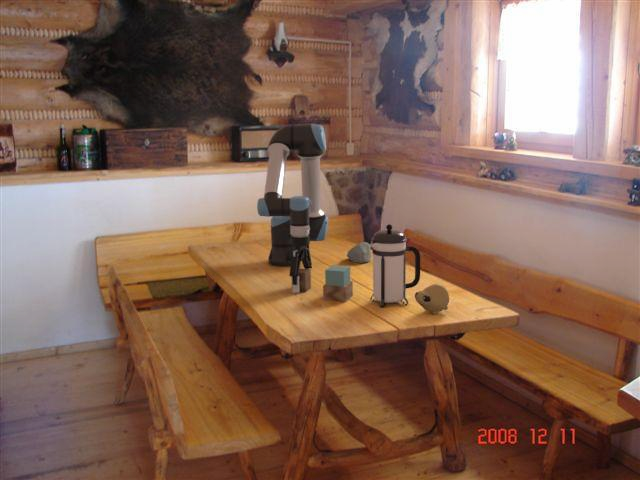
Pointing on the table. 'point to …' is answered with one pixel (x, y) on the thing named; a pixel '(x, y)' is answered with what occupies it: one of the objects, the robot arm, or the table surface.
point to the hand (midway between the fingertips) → (301, 288)
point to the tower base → (338, 292)
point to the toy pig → (433, 298)
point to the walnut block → (304, 280)
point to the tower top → (337, 276)
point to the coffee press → (391, 266)
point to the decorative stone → (360, 253)
